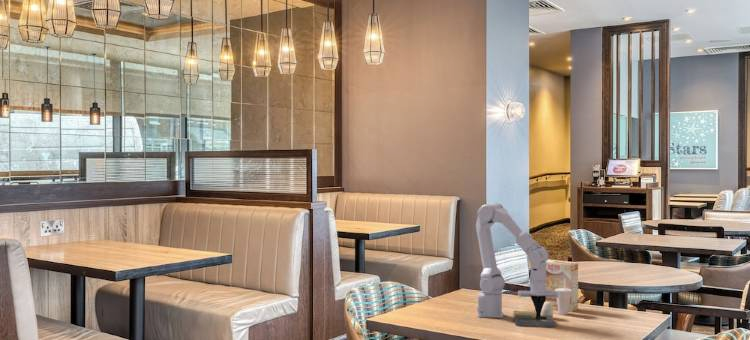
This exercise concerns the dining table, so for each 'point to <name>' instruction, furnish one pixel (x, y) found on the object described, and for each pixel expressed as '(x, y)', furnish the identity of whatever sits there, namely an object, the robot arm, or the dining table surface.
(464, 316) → the dining table surface
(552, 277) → the coffeecake box
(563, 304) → the smoothie
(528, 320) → the jig
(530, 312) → the shunt bar
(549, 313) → the white capsule cylinder
